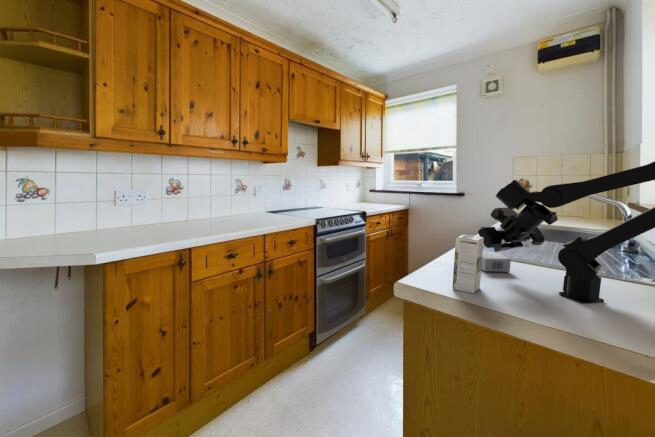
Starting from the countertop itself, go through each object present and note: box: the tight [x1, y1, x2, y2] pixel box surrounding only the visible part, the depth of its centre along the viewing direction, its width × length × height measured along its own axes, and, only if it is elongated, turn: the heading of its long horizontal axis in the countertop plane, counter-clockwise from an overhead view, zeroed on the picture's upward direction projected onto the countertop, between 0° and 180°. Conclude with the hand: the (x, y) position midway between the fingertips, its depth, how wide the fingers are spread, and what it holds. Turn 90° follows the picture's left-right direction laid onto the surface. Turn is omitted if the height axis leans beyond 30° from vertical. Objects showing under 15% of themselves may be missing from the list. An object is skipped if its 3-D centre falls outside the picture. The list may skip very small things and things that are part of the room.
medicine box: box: [481, 251, 512, 273], centre depth 101 cm, size 8×4×9 cm
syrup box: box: [452, 234, 484, 294], centre depth 82 cm, size 6×6×14 cm
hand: (495, 250), depth 96 cm, fingers closed
